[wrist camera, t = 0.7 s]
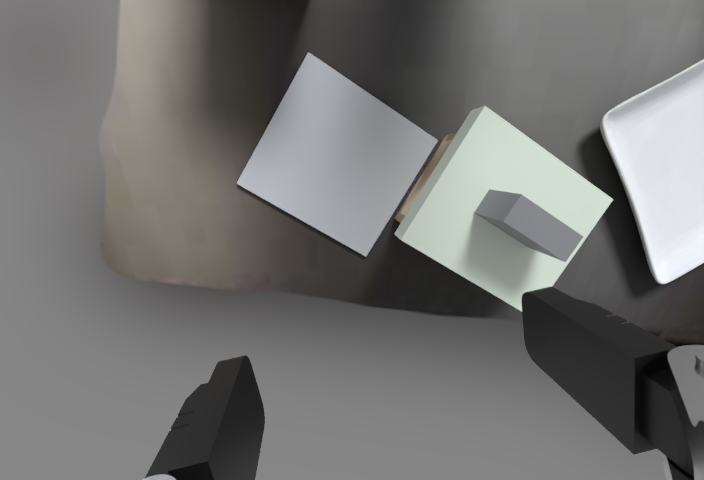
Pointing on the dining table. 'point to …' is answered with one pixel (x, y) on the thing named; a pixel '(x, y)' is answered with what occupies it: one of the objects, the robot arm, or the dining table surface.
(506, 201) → the lid
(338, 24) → the dining table surface
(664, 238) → the salad plate
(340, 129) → the mat
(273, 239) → the dining table surface
